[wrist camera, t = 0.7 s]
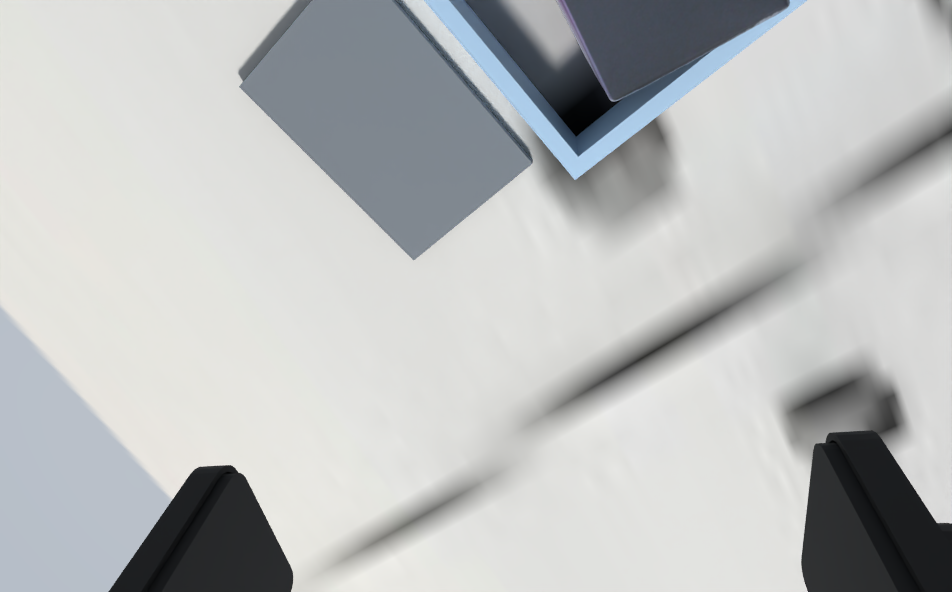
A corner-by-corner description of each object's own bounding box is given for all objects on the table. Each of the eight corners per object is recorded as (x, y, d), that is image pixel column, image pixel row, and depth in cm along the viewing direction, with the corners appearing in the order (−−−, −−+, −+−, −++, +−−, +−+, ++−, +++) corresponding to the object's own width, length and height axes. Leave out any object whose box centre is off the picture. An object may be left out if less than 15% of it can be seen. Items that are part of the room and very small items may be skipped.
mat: (355, -47, 28) (351, -47, 28) (532, 160, 32) (532, 163, 32) (244, 84, 32) (239, 86, 32) (415, 255, 36) (413, 260, 35)
